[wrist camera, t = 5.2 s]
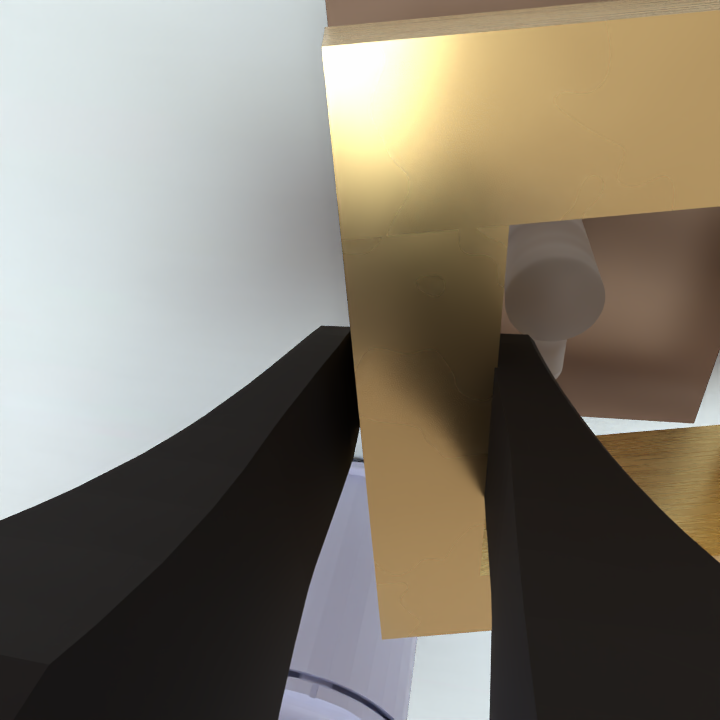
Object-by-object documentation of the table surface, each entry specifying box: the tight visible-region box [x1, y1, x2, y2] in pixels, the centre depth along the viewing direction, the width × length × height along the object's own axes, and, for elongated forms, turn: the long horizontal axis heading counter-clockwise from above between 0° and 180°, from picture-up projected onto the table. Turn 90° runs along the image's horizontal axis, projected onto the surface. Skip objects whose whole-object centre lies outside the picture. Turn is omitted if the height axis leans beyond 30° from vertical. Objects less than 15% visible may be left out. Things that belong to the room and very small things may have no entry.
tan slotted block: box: [322, 0, 720, 640], centre depth 10 cm, size 11×11×4 cm
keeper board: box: [325, 0, 720, 423], centre depth 14 cm, size 14×11×6 cm
